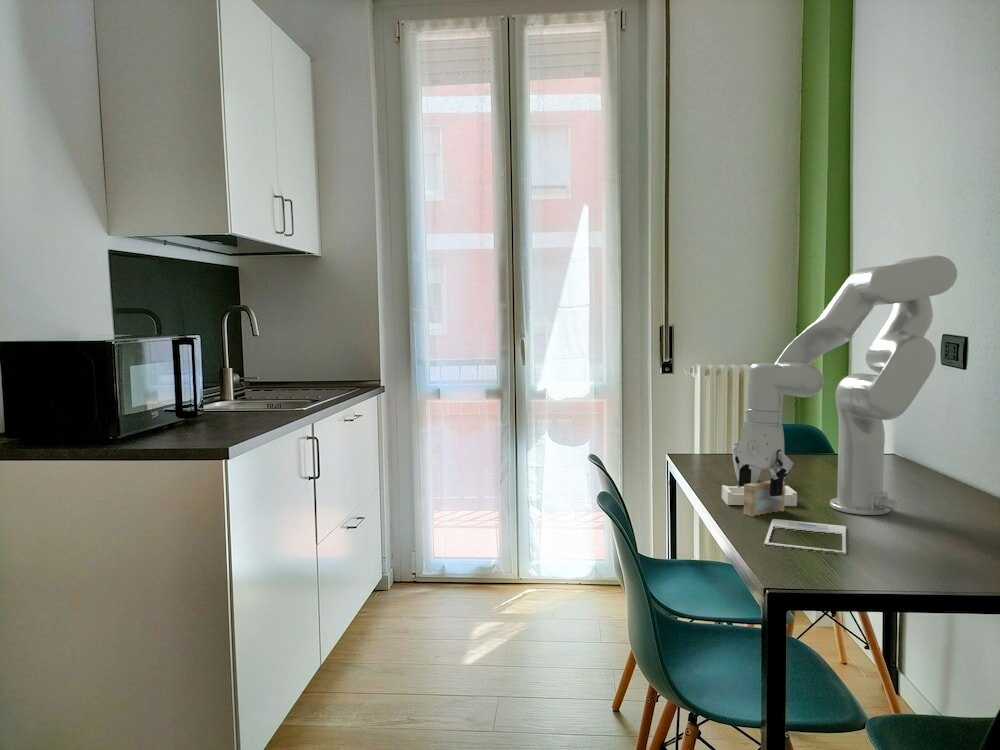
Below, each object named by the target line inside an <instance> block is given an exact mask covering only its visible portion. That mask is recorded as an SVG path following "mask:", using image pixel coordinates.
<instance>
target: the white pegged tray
mask: <svg viewBox="0 0 1000 750" xmlns="http://www.w3.org/2000/svg"><path fill="white" fill-rule="evenodd" d="M721 499H722V500H723V501H724V503H725V504H726V505H727V506H728V505H744V486H743V487H741V486H739V484H737V485H735V486H728V485H723V484H722V485H721ZM797 506H798V492H797V491H795V490H794V489H793V488H791V487H790V486H789V485H785V495H784V507H797Z"/></svg>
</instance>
